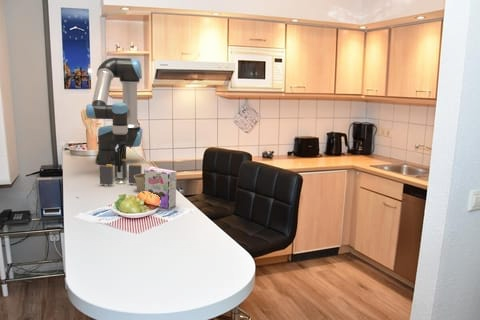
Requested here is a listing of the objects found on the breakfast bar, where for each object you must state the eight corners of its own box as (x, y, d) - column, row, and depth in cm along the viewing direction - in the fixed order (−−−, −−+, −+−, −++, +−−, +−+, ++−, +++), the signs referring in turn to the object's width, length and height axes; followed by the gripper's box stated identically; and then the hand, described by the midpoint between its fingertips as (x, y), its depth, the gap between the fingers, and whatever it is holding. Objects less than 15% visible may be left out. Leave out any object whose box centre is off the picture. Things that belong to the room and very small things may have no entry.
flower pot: (149, 196, 195) (149, 179, 194) (130, 194, 197) (130, 177, 195) (156, 191, 204) (157, 174, 203) (139, 189, 206) (139, 172, 204)
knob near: (116, 178, 220) (115, 158, 217) (127, 178, 219) (126, 159, 217) (114, 179, 217) (114, 159, 215) (125, 179, 217) (125, 160, 215)
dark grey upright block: (101, 184, 207) (101, 163, 204) (113, 185, 206) (113, 164, 204) (99, 185, 204) (99, 164, 202) (111, 186, 204) (111, 165, 202)
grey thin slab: (130, 183, 211) (130, 163, 208) (141, 184, 210) (141, 163, 208) (128, 184, 208) (128, 164, 206) (140, 185, 208) (140, 164, 206)
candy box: (143, 203, 185) (143, 168, 182) (152, 200, 190) (152, 166, 187) (168, 209, 179) (168, 173, 175) (176, 206, 184) (177, 170, 180)
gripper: (118, 130, 221) (119, 173, 226) (107, 135, 206) (108, 180, 211) (132, 131, 221) (132, 173, 226) (122, 135, 205) (122, 181, 210)
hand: (120, 176), depth 218 cm, fingers closed on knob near, 2 cm apart
